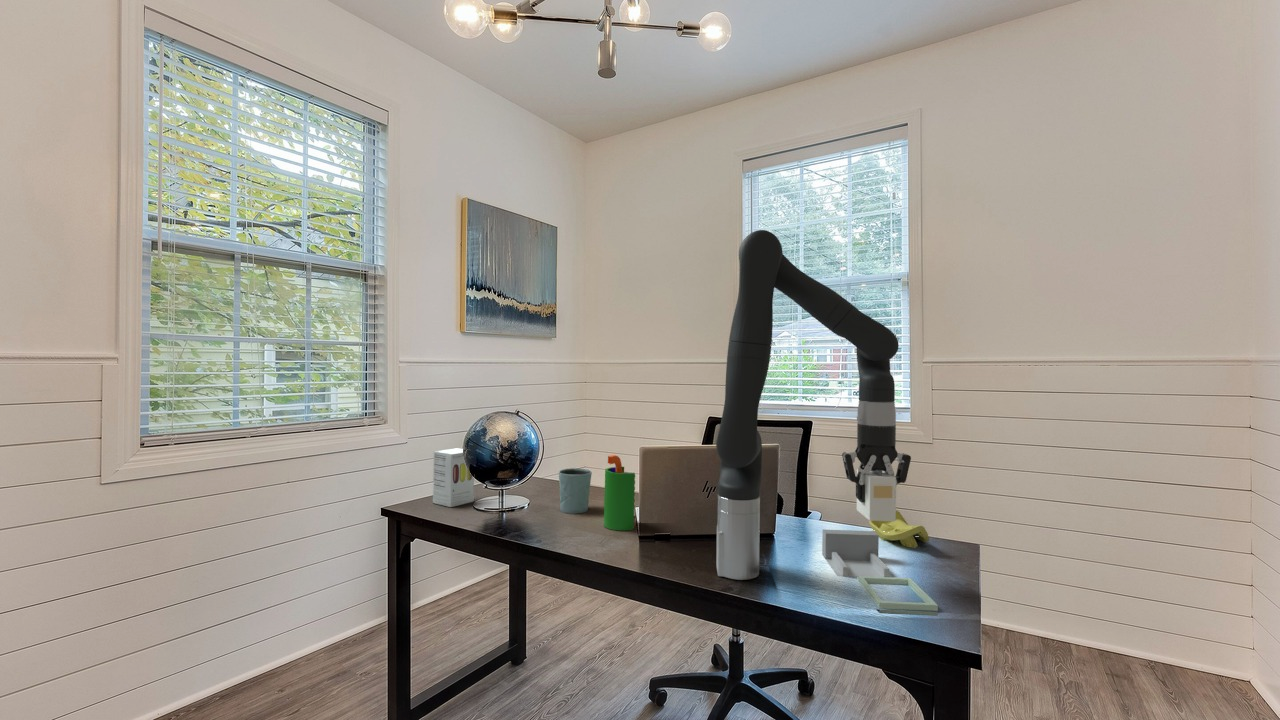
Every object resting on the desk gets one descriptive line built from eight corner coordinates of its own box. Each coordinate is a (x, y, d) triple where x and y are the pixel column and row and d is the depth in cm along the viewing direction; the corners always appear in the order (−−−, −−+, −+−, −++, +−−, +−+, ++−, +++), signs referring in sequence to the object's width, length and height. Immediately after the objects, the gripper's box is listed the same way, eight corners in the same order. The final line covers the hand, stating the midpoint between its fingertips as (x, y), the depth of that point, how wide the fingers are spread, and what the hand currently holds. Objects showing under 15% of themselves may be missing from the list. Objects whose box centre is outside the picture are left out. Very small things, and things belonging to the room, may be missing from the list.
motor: (643, 527, 155) (643, 456, 155) (616, 533, 150) (616, 459, 150) (623, 518, 163) (624, 451, 163) (597, 523, 158) (598, 453, 158)
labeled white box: (870, 520, 114) (870, 472, 114) (856, 509, 122) (856, 464, 122) (895, 521, 113) (896, 472, 113) (880, 510, 122) (881, 465, 121)
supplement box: (450, 508, 173) (450, 454, 173) (431, 503, 178) (432, 451, 178) (474, 501, 181) (475, 450, 181) (456, 497, 186) (456, 447, 186)
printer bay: (837, 580, 119) (837, 548, 119) (822, 558, 132) (822, 529, 132) (894, 582, 118) (895, 550, 118) (873, 560, 131) (874, 531, 131)
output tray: (879, 613, 104) (879, 602, 104) (858, 585, 117) (858, 576, 117) (937, 615, 103) (937, 605, 103) (910, 587, 116) (910, 578, 116)
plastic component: (866, 521, 155) (900, 506, 154) (879, 545, 155) (912, 531, 154) (888, 538, 136) (927, 522, 135) (902, 567, 135) (941, 551, 134)
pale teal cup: (552, 508, 173) (553, 470, 173) (580, 503, 179) (580, 466, 179) (568, 516, 165) (569, 476, 165) (597, 510, 171) (597, 472, 171)
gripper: (847, 424, 114) (847, 506, 114) (918, 424, 113) (918, 507, 113) (836, 419, 122) (836, 496, 122) (903, 420, 121) (902, 498, 121)
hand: (875, 501), depth 118 cm, fingers closed on labeled white box, 5 cm apart
